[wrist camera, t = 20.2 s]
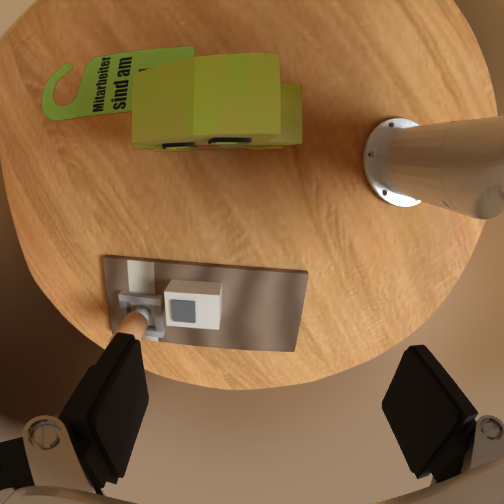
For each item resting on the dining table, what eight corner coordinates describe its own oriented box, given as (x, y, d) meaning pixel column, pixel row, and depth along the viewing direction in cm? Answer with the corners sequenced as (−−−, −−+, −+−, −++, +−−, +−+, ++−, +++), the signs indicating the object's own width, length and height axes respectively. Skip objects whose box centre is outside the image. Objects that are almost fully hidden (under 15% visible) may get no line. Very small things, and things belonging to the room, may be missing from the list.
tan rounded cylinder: (153, 303, 40) (132, 336, 32) (154, 323, 41) (136, 359, 33) (131, 300, 40) (107, 332, 31) (133, 320, 41) (112, 354, 32)
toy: (161, 154, 35) (81, 152, 16) (161, 112, 34) (85, 73, 15) (284, 152, 36) (325, 141, 17) (284, 109, 34) (323, 56, 15)
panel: (306, 270, 40) (310, 278, 38) (293, 347, 44) (295, 357, 42) (106, 254, 39) (98, 260, 37) (114, 330, 43) (108, 338, 40)
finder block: (222, 282, 39) (219, 296, 35) (221, 314, 41) (218, 331, 37) (171, 279, 39) (163, 292, 35) (173, 311, 41) (166, 327, 36)
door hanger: (196, 46, 31) (48, 70, 30) (195, 45, 31) (46, 69, 30) (189, 109, 34) (40, 124, 33) (188, 108, 34) (38, 124, 33)
